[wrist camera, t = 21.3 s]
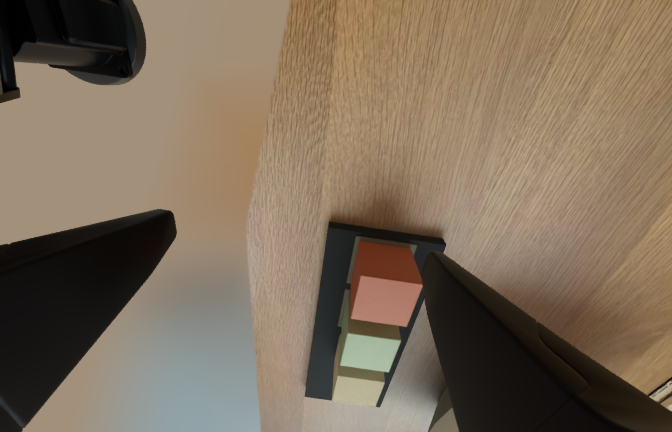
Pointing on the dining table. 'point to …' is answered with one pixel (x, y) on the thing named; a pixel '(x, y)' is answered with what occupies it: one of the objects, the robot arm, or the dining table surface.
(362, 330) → the pale green cube
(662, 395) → the newspaper
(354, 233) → the word board
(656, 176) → the dining table surface
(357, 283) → the reddish brown cube
